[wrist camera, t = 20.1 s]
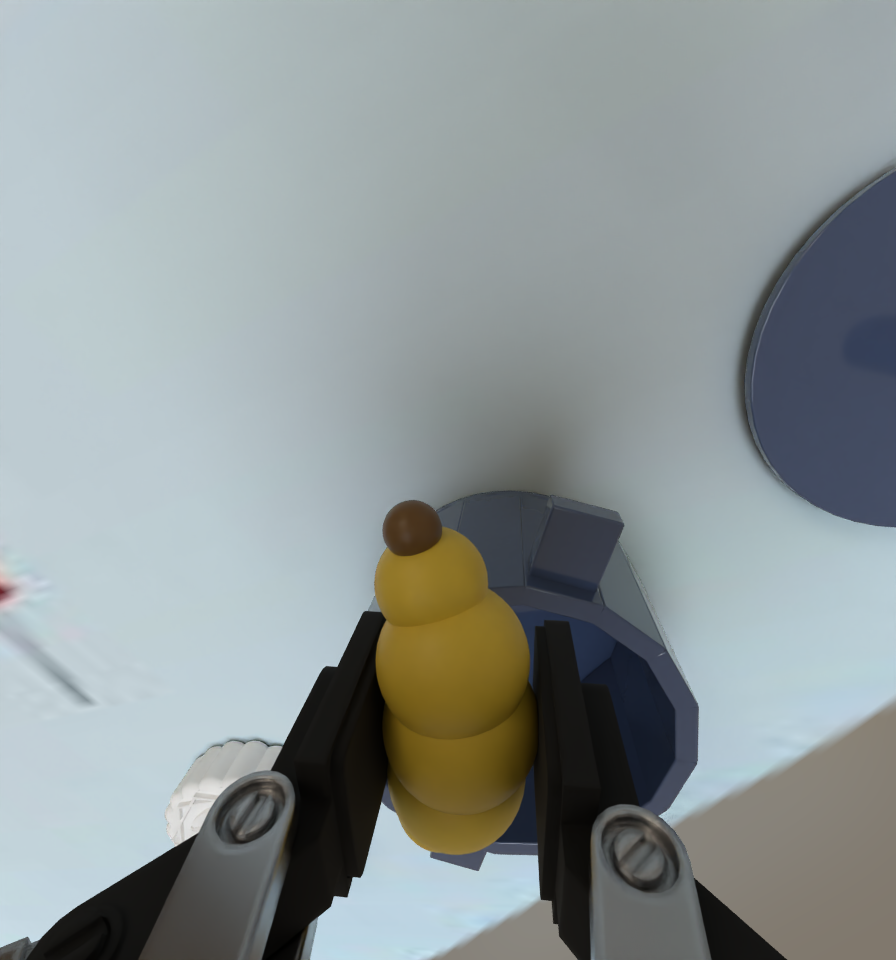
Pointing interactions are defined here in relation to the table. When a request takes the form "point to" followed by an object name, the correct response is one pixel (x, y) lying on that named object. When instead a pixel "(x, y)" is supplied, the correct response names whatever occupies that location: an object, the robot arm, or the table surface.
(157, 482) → the table surface
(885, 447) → the lid
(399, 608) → the yellow segmented pod
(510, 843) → the pot
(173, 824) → the mooncake
